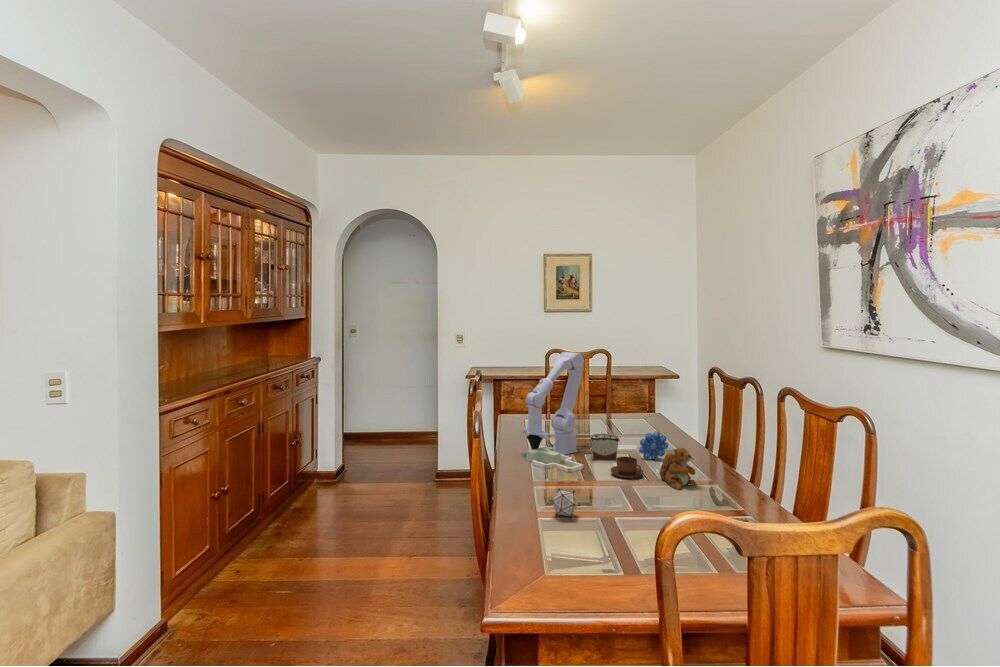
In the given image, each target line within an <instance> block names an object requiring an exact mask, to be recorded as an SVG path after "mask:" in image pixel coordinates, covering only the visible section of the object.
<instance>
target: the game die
mask: <svg viewBox="0 0 1000 667" xmlns="http://www.w3.org/2000/svg"><path fill="white" fill-rule="evenodd" d="M557 490H558V492H557V493H556V494H555V496H554V497H553V498H552V499H549V502H551V503H552V506H553V508H554V510H555V512H556V514H555V517H557V516H558V515H560V516H564V517H565V516H566V517H569V518H570V519H571V520H572V519H573V514H574V512H575V510H576V509H577V508H578V507H581V504H579V503H578V501H577V499H576V496H575V492H576V489H574V490H572V491H567V490H562V489H561V488H559V487H558V489H557Z"/></svg>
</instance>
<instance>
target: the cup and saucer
mask: <svg viewBox="0 0 1000 667" xmlns="http://www.w3.org/2000/svg"><path fill="white" fill-rule="evenodd" d="M610 472H611V473H612V474H613V475H614V476H616V477H619V478H625V479H635V478H636V479H637V478H640V477H641V476H643V475H644V470H643V469H642V466H641V465H640V464H638V460H637V458H635V457H632V456H619V457H618V456H617V458H616V466H612V467H611V468H610Z"/></svg>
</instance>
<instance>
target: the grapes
mask: <svg viewBox="0 0 1000 667" xmlns="http://www.w3.org/2000/svg"><path fill="white" fill-rule="evenodd" d="M666 441H667V436H666V435H662V434H661V433H660V432H659V431H655V432H653V433H651V432H650V433H649V432H648V433H646V434H645V436H644V438H642V439H640V440H639V445H640V446H639V448H638V449H639V450H638V451H639V453H641V454H643V458H644V459H645V458H648V459H650V460H652V459H656V460H657V459H658V458H659V457H665V455H666V451H665V450H668V448H669V443H668V442H666Z"/></svg>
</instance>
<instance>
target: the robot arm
mask: <svg viewBox="0 0 1000 667" xmlns="http://www.w3.org/2000/svg"><path fill="white" fill-rule="evenodd" d="M584 363H585V359H584V357H583V355H582V354H581V353H579V352H568V351H562V352H561V353H560V354H559V356H558V357H557V359H556V362H555V365H554V366H553V367H552V368H551V370H550V372H549V373H548V375H547V376H546V377H545V378H541V379H539V381H538V382H539V383H538V384H537V385H536V386H535V388H533V389H532V391H530V392H528V393H527V395H526V398H525V403H526V405H527V411H528V412H527V418H528V420H527V421H528V423H527V427H523V428H521V433H522V434H527V436H526V439H527V440H528V442H529V444H530V450H533V449H537V448H540V445H541V443H542V441H543V439H544V440H547V439H550V437H549V436H550V434H549V433H547V432H545V431H543V424H542V423H543V421H542V420H543V415H542V414H543V408H542V407H543V406H544V404H545V402H546V398H547V396H548V394H549V393H550V392H551V390H552V389H553V387H554V382H555V381H556V380H557V378H558V377H560V375H562V373H563V371H567V373H568V374H569V375H568V379H567V381H566V386H565V390H564V393H563V398H562V401H561V404H560V407H559V409H557V410H556V411H555V412H554V416H553V417H552V419H551V420H550V421H551V422H550V425H551V427H552V428H553V432H554V452H557V453H560V454H561V455H565V456H567V455H568V454H573V453H578V452H579V451H578V450H577V436H576V433H575V432H574V429H575V427H576V423H575V422H576V416H575V414H574V412H573V411H574V408H575V405H576V404H575V403H576V399H577V396H578V393H579V392H578V391H579V389H580V384H581V383H582V382H581V381H582V377H583V370H584V369H583V366H584Z"/></svg>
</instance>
